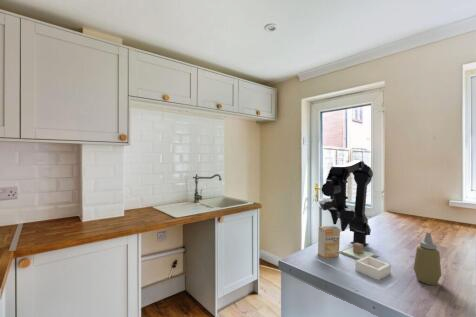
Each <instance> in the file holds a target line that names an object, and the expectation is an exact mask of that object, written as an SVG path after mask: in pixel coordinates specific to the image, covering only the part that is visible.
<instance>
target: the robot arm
mask: <svg viewBox="0 0 476 317" xmlns="http://www.w3.org/2000/svg"><path fill="white" fill-rule="evenodd" d="M351 174H352V176H353V180H354V182H355V184H356V190H355V191H356V192H355V200H354V202H355V203H354V210H353V209H350V208H348V207H349V206H348V205H347V200H349V197H348V196H347V184H348V183H349V182H348V179H349V177H351ZM373 175H374V171H373V170H372V167H370V166H369V165H367V164H366V163H365V162H364V161H363V160H352V161H350V162H347V163H345V164H343V165H342V164H341V165H331V167H330V169H329V171H328V174H327V176H326V180H325V183H323V184H322V186H321V193H322V194H323V195H324V196H326V197H329V198H327V199H326V198H325V199H323V200H321V201H319V203H318V204H319V206H320V209H321V210H323V211H328V212H329V213H330V215H331V220H332V223H333V225H336V224H338V223H337V222H338V219H339V220H340V221H339V222H340V231H342V232H345V230H346V229H347V228H349V229H348V230H349V232H352V233H353V239H352V241H351V242H350V244H352V245H353V244H354V243H360V244H363V248H364V247H367V246H369V245H370V243H368V242H367V236H370V235H371V230H372V228H371V227H370V225H369V220H368V218H367V216H366V204H367V203H366V202H367V194H368V193H367V190H368V185H369V184H370V183H371V182H372V178H373V177H374V176H373Z"/></svg>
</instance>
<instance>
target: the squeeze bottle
mask: <svg viewBox="0 0 476 317" xmlns="http://www.w3.org/2000/svg"><path fill="white" fill-rule="evenodd" d="M440 256H441V254H440V251H439V249H437V244H436V242H433V238H432V234H431V232H428V231H427V232H425V236H424V238H423V240H420V241H419V245H418V246H416V251H415V256H414V263H413V271H414V274H415V278H416V280H418V281H419V282H421V283H423V284H426V285H433V286H434V285H437V284H438V283H439V281H440V278H441V277H442V268H441V267H442V266H441V257H440Z"/></svg>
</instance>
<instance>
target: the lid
mask: <svg viewBox="0 0 476 317" xmlns="http://www.w3.org/2000/svg"><path fill="white" fill-rule="evenodd" d="M352 245H353V246H351V247H352V248H351V247H349V249H348V248H346V249H347V250H345V249H343V250H344V251H343V250H341V251H342V253H343V254H346V255H348V256H351V257H353V258H356V259H358V260H359V259H361V258H364V257H366V256H369V257H374V256H375V255H376V254H375V253H373V252H370V251H367V250H364V247H363V244H360V243H354V244H352Z"/></svg>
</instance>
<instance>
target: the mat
mask: <svg viewBox="0 0 476 317" xmlns="http://www.w3.org/2000/svg"><path fill="white" fill-rule="evenodd" d="M352 247H353V246H351V247H349V248H352ZM349 248H345V249H343V250H339V255H341V256H344V257H347V258H349V259H353V260H354V261H357V260H358V259H356V258H353V257H351V256H348V255H346V254H343V253H342V251H344V250H347V249H349ZM372 258H374V259H378V258H380V255H377V254H375V256H374V257H372Z"/></svg>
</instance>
